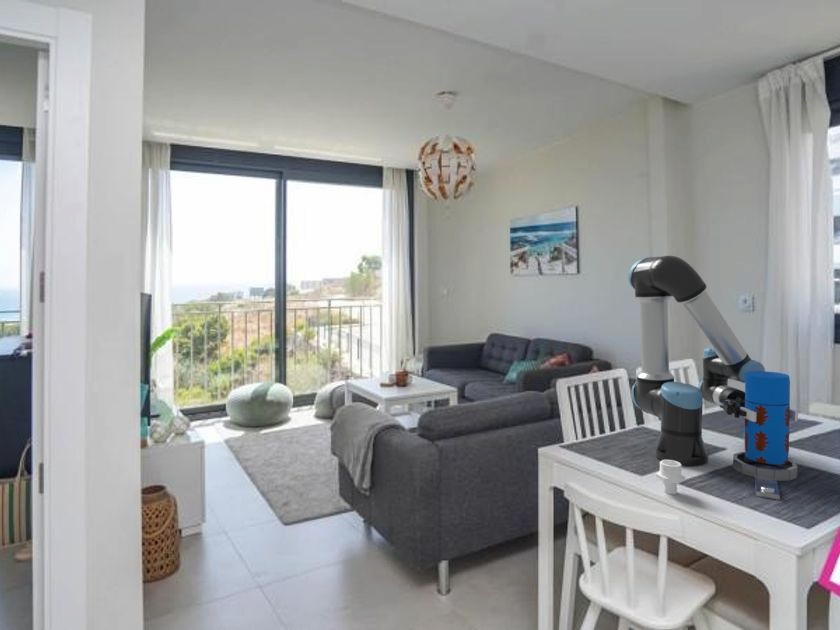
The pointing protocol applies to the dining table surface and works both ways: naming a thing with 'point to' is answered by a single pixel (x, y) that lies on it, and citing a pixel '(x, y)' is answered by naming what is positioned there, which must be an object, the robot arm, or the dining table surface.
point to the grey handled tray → (765, 475)
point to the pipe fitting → (670, 475)
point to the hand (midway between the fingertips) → (775, 416)
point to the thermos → (767, 417)
